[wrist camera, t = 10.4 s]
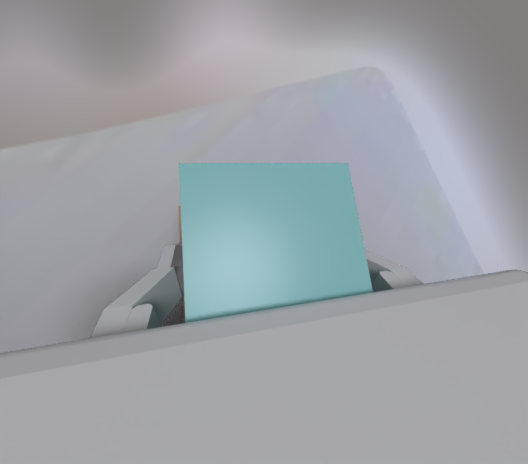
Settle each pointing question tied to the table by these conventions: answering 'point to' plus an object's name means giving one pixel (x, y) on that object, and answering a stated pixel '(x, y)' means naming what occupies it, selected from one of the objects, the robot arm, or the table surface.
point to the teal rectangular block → (268, 236)
